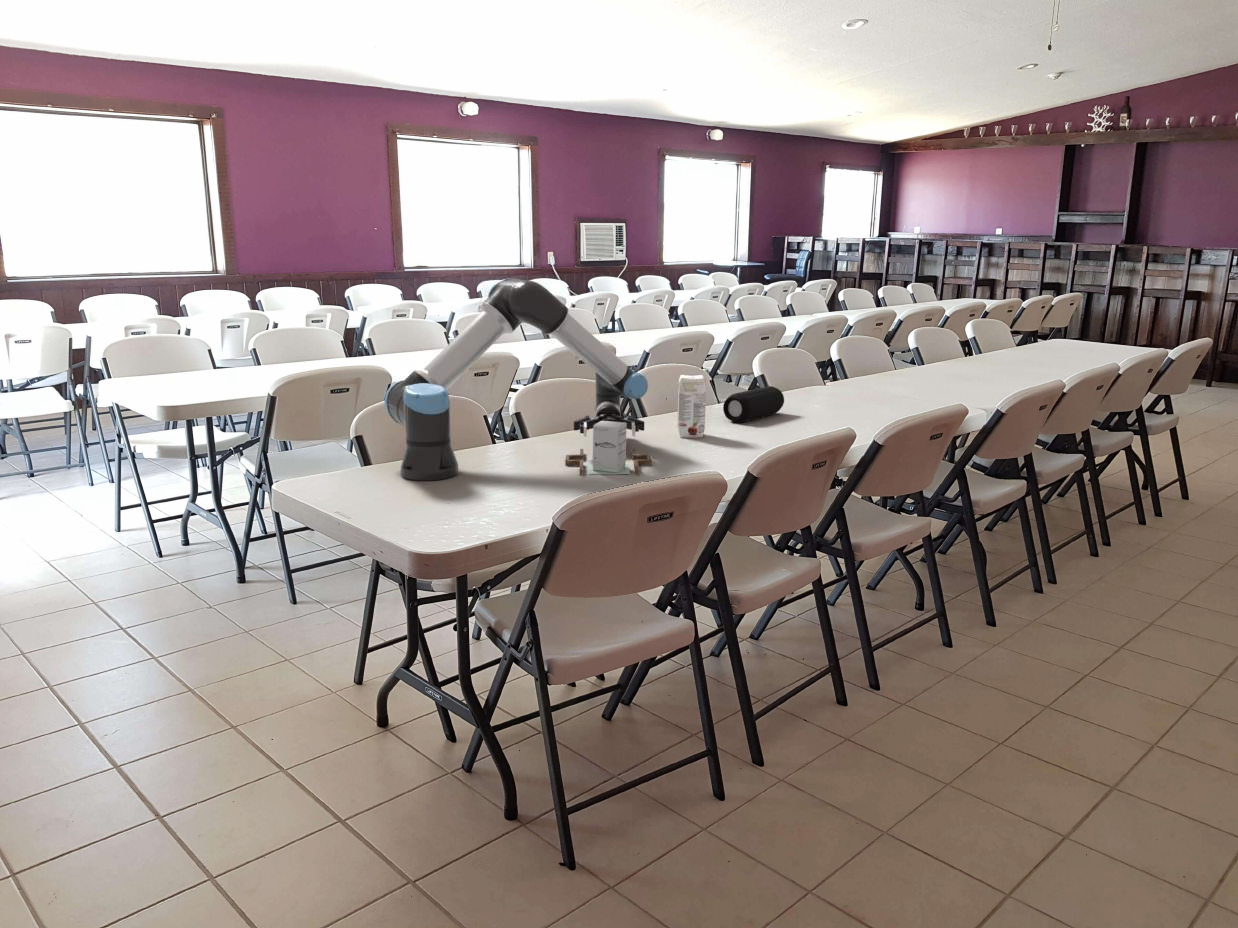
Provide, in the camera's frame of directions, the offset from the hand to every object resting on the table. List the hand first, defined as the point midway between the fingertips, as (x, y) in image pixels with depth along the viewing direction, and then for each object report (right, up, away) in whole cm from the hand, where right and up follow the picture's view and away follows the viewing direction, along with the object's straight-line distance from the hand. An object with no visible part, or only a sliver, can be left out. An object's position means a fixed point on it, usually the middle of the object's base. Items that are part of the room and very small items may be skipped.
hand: (609, 431), depth 263 cm
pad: (0, -11, -5) cm, 12 cm away
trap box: (0, -9, +1) cm, 9 cm away
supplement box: (0, -10, -5) cm, 12 cm away
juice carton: (+25, 0, +37) cm, 45 cm away
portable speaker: (+49, +7, +65) cm, 82 cm away
